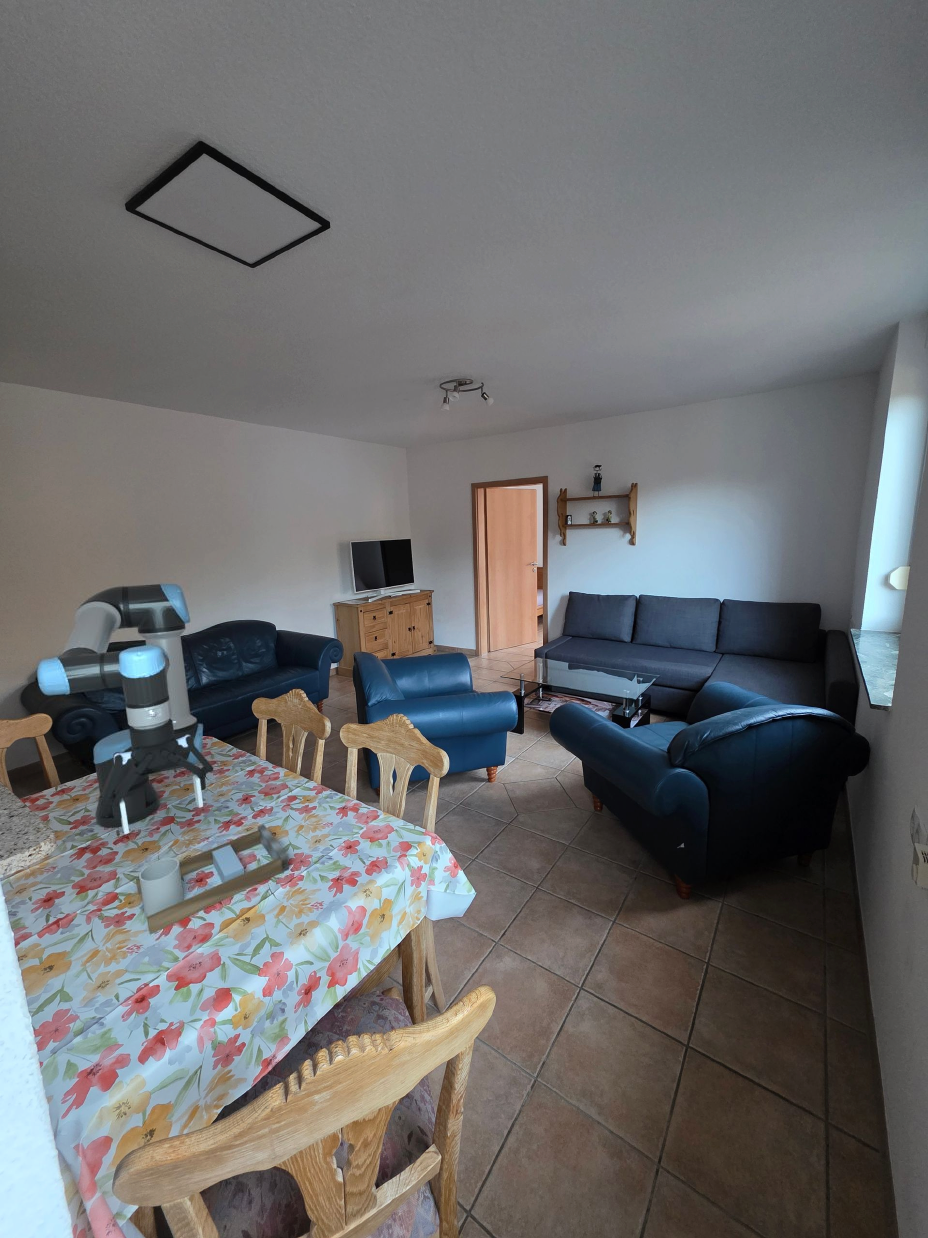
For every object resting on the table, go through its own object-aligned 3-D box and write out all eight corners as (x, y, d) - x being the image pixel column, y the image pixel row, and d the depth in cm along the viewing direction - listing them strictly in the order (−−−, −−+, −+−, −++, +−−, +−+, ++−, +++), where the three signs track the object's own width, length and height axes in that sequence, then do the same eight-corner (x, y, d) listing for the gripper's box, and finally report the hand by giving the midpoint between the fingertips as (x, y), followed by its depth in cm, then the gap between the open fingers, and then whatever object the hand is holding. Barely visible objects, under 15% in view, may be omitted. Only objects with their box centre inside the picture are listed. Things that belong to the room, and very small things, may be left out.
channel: (137, 891, 109) (135, 875, 108) (264, 838, 127) (263, 824, 126) (150, 934, 97) (147, 917, 96) (288, 869, 115) (287, 854, 114)
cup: (143, 924, 99) (137, 886, 98) (147, 893, 108) (142, 857, 106) (183, 911, 103) (178, 874, 101) (185, 882, 111) (180, 847, 110)
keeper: (213, 866, 117) (212, 851, 116) (231, 859, 119) (229, 844, 118) (226, 892, 108) (224, 876, 108) (245, 883, 111) (243, 868, 110)
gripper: (75, 747, 88) (93, 852, 92) (221, 711, 104) (232, 801, 108) (71, 734, 93) (88, 834, 97) (211, 702, 110) (221, 789, 114)
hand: (164, 817), depth 103 cm, fingers open, 13 cm apart
